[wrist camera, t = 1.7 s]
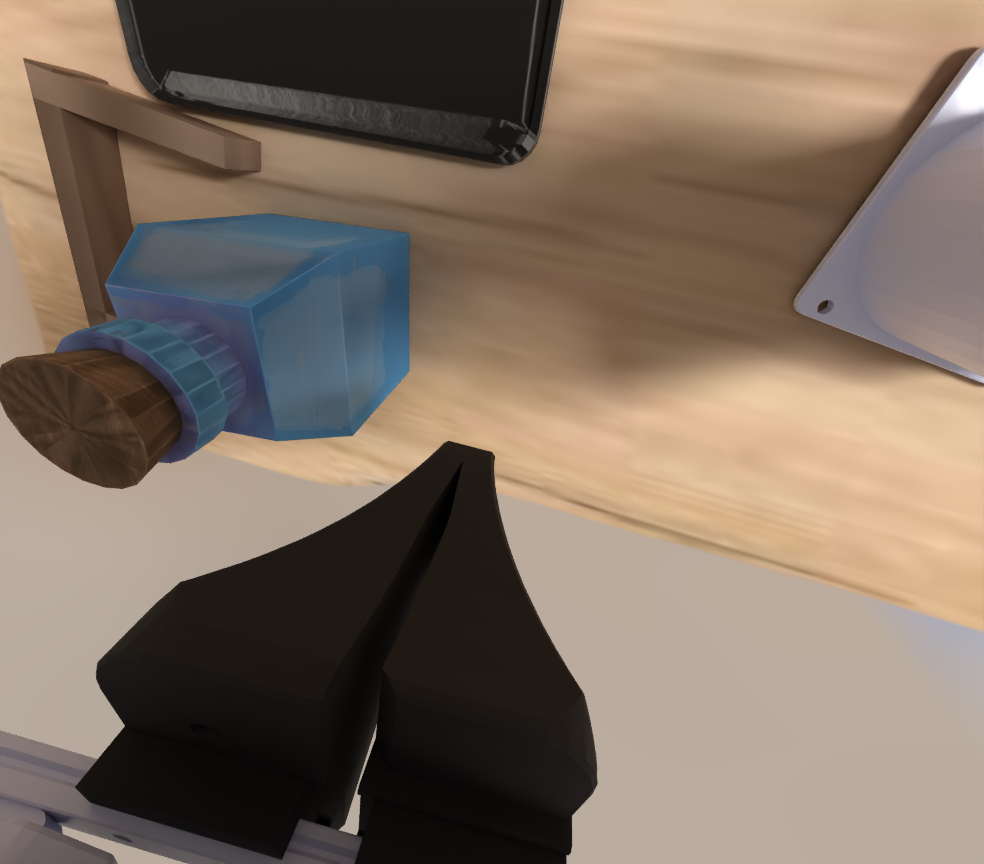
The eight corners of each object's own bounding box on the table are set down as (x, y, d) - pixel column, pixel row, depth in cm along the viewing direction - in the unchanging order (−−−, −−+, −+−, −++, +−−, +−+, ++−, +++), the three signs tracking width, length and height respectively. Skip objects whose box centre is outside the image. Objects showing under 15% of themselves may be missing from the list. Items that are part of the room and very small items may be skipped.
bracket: (260, 139, 16) (223, 133, 14) (261, 364, 21) (234, 379, 19) (82, 72, 16) (23, 57, 14) (128, 316, 21) (90, 327, 19)
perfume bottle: (409, 371, 20) (244, 559, 10) (291, 351, 20) (19, 510, 10) (409, 233, 17) (161, 299, 7) (269, 213, 17) (-164, 247, 7)
